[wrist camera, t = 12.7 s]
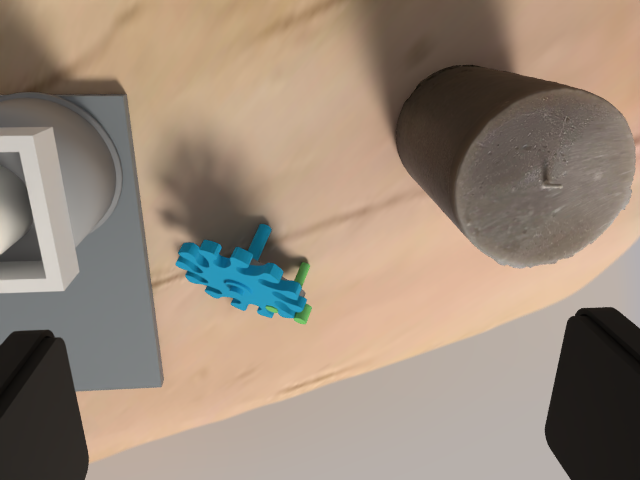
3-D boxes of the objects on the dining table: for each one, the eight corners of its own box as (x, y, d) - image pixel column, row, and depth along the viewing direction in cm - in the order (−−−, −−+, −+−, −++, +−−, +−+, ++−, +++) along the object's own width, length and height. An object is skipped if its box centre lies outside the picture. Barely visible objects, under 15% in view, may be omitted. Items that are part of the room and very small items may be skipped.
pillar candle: (406, 58, 37) (484, 79, 23) (536, 71, 38) (686, 98, 24) (386, 189, 40) (444, 276, 27) (505, 198, 42) (620, 285, 28)
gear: (151, 270, 39) (207, 245, 32) (186, 207, 42) (245, 171, 34) (265, 335, 44) (338, 327, 36) (289, 275, 47) (362, 256, 39)
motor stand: (-89, 90, 35) (-246, 117, 24) (126, 89, 36) (64, 114, 25) (-6, 387, 44) (-94, 502, 33) (163, 379, 45) (130, 487, 34)
